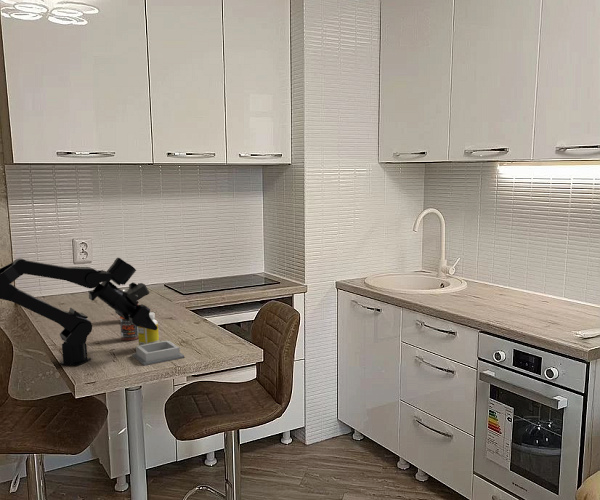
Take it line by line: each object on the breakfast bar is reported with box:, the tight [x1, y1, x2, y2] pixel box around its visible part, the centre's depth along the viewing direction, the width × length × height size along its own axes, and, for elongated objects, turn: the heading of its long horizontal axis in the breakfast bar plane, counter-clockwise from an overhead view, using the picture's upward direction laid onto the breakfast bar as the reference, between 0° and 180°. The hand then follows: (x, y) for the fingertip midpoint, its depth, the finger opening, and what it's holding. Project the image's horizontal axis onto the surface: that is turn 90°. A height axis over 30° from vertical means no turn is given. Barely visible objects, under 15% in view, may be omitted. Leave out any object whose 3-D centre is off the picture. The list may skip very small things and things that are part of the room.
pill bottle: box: [138, 311, 160, 346], centre depth 181 cm, size 6×6×11 cm
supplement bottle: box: [119, 316, 139, 342], centre depth 193 cm, size 6×6×11 cm
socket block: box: [131, 340, 185, 366], centre depth 172 cm, size 12×12×3 cm
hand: (152, 326), depth 182 cm, fingers open, 8 cm apart
